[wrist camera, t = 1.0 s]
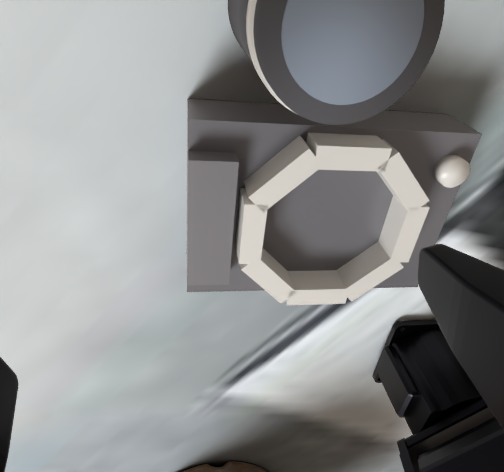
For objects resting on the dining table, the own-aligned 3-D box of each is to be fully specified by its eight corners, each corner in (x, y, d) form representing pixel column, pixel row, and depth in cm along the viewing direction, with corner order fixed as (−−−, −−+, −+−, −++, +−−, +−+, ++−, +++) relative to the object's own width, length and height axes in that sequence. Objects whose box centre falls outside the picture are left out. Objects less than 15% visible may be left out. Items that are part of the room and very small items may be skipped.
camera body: (445, 113, 20) (504, 146, 16) (394, 255, 25) (430, 305, 21) (187, 98, 18) (188, 132, 14) (187, 257, 23) (187, 312, 19)
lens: (355, -61, 16) (485, -84, 9) (330, 73, 18) (414, 133, 12) (229, -78, 15) (266, -118, 8) (222, 65, 17) (245, 125, 11)
